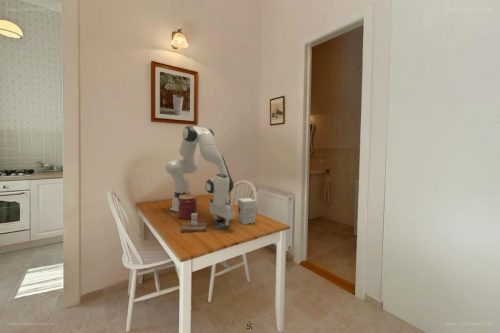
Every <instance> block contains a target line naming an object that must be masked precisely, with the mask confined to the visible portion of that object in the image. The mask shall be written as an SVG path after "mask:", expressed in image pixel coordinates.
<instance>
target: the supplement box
mask: <svg viewBox="0 0 500 333" xmlns="http://www.w3.org/2000/svg"><path fill="white" fill-rule="evenodd" d="M237 201H238V202H237V204H238V205H237V221H238V222H239V223H241V224H242V225H244V226H245V225H249V223H251V224H255V223H256V206H257V205H256V204H257V202H256V200H255V199H253V198H251V197H248V198H237ZM254 222H255V223H254Z"/></svg>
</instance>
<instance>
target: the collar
mask: <svg viewBox="0 0 500 333" xmlns="http://www.w3.org/2000/svg"><path fill="white" fill-rule="evenodd" d="M225 222H226V220H225V219H218V220H215V219H214V220H213V228H215V229H217V230H219V231H221V230H224V229H229V226H230V225H229V224H230V223H229V222H230V221H229V222H228V225H227V226H226V225H225Z"/></svg>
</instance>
